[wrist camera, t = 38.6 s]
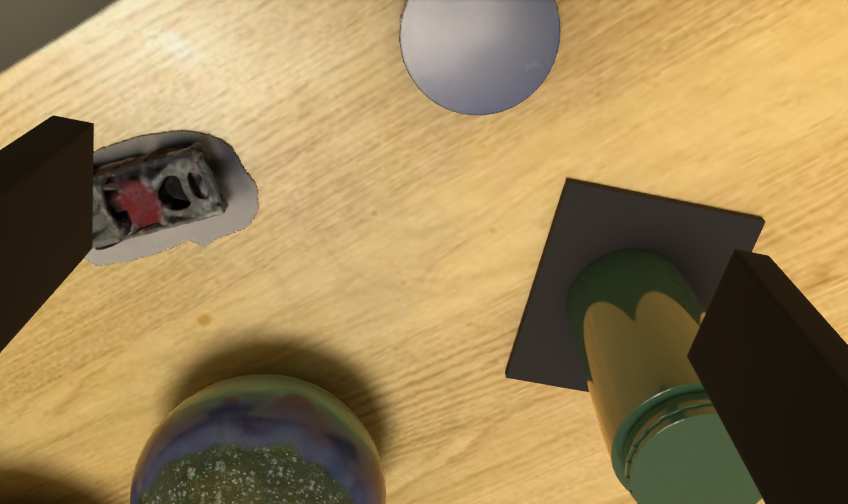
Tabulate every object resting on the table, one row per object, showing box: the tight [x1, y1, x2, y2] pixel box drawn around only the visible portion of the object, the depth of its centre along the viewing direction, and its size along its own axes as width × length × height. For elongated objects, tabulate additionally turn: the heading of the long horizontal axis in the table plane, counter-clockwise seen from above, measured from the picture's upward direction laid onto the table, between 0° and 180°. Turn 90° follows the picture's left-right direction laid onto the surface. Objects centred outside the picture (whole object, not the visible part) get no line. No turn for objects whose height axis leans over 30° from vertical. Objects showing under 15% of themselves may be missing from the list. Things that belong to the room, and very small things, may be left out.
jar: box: [566, 250, 762, 504], centre depth 40 cm, size 8×8×14 cm
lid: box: [399, 0, 560, 115], centre depth 39 cm, size 8×8×2 cm
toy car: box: [84, 131, 258, 266], centre depth 42 cm, size 8×12×3 cm
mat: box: [505, 178, 765, 392], centre depth 47 cm, size 14×12×1 cm
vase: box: [130, 373, 386, 504], centre depth 46 cm, size 15×15×13 cm
